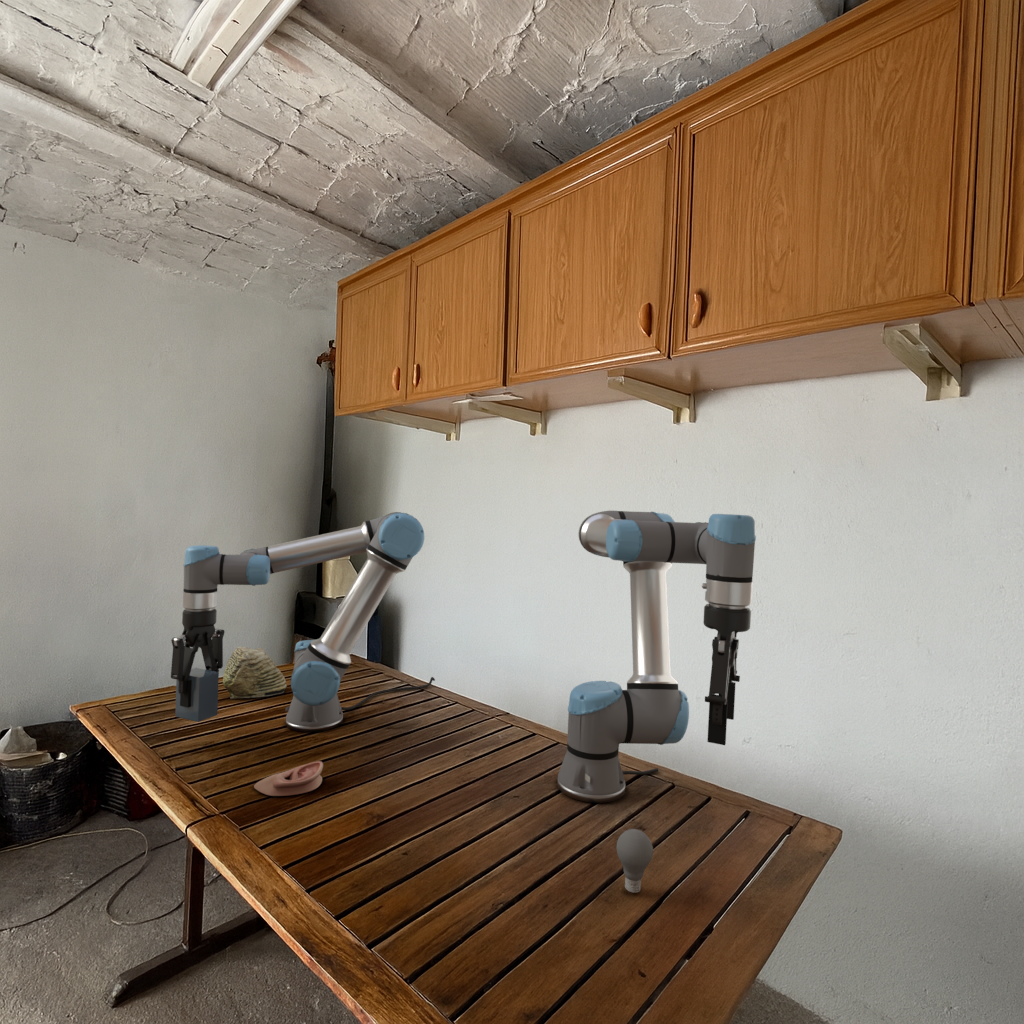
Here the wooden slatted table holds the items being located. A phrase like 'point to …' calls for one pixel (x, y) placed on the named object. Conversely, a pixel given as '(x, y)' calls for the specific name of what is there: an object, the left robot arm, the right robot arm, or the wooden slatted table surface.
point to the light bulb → (634, 857)
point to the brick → (200, 696)
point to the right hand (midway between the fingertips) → (721, 729)
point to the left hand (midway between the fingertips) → (196, 702)
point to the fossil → (252, 674)
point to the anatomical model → (292, 781)
